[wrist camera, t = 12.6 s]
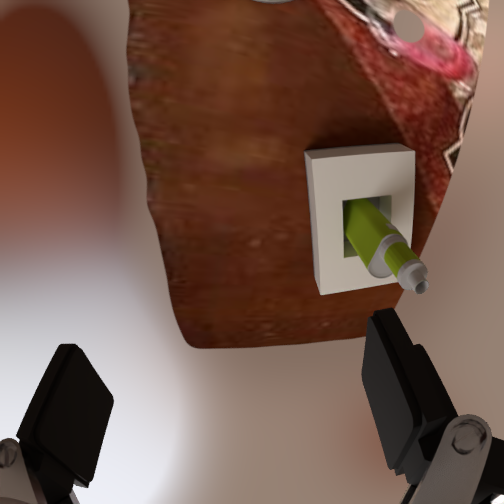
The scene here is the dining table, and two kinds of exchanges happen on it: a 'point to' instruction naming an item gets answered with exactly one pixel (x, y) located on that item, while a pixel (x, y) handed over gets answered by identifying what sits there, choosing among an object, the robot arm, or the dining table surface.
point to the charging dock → (354, 187)
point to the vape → (382, 246)
